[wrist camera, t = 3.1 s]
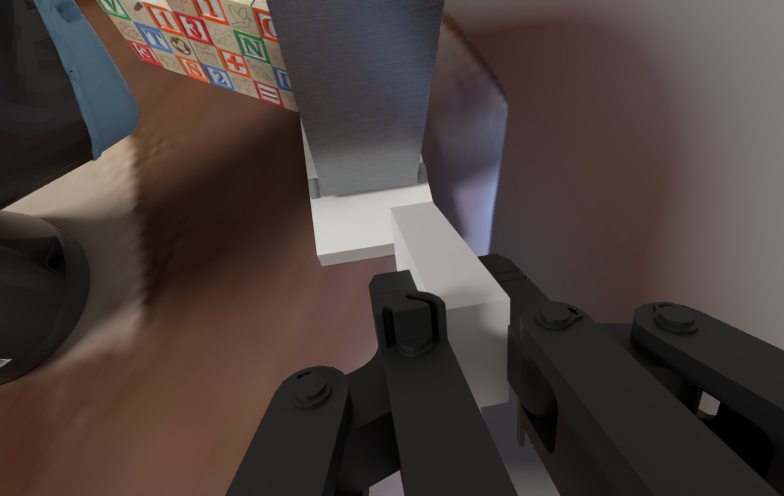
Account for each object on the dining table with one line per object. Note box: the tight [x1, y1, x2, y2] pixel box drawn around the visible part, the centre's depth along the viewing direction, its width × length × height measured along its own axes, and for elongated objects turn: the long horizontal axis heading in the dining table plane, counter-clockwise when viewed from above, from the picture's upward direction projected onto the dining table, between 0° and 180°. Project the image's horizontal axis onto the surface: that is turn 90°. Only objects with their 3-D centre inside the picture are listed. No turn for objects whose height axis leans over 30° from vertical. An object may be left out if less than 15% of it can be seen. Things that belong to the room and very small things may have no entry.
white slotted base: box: [300, 118, 433, 266], centre depth 37 cm, size 16×11×7 cm
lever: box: [266, 0, 445, 197], centre depth 26 cm, size 2×10×21 cm, turn 100°
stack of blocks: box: [97, 0, 299, 112], centre depth 39 cm, size 21×6×12 cm, turn 70°
